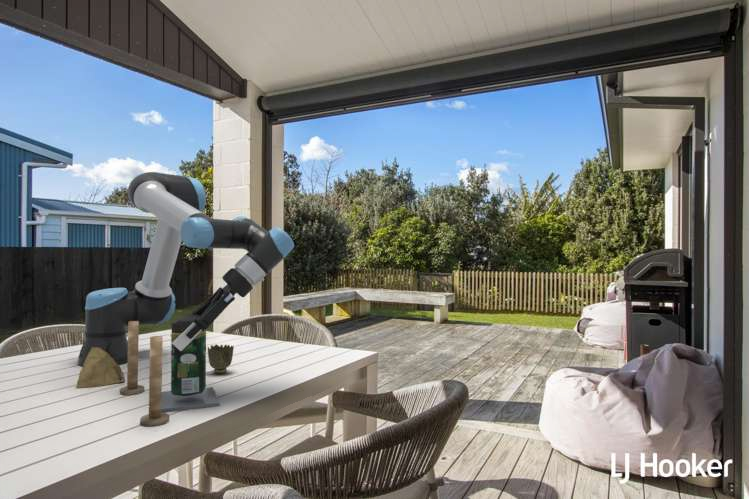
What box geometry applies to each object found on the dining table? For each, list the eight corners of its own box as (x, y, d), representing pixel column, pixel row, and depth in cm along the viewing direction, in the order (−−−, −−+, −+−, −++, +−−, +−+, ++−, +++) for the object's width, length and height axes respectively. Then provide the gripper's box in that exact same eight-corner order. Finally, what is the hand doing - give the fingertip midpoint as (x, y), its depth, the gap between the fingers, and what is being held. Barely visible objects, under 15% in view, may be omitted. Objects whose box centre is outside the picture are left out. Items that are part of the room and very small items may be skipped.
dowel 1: (114, 394, 119) (116, 322, 119) (128, 388, 125) (129, 319, 125) (136, 395, 118) (137, 323, 119) (148, 389, 124) (150, 320, 124)
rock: (134, 370, 134) (100, 364, 135) (128, 350, 129) (93, 344, 130) (113, 402, 126) (77, 396, 126) (105, 382, 121) (67, 376, 121)
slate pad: (159, 412, 106) (159, 409, 106) (158, 395, 119) (158, 392, 119) (219, 405, 112) (219, 402, 112) (212, 389, 125) (212, 386, 125)
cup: (225, 377, 137) (225, 349, 137) (202, 375, 139) (202, 348, 139) (237, 371, 144) (238, 344, 144) (215, 369, 146) (216, 343, 146)
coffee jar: (173, 387, 119) (174, 312, 119) (206, 385, 121) (207, 312, 122) (167, 398, 110) (168, 318, 110) (203, 396, 112) (205, 317, 112)
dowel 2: (134, 425, 98) (136, 338, 99) (149, 416, 104) (151, 334, 104) (160, 427, 98) (161, 339, 98) (174, 417, 104) (175, 335, 104)
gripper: (263, 290, 112) (190, 363, 105) (246, 284, 132) (183, 344, 126) (240, 268, 110) (164, 341, 103) (226, 265, 130) (162, 325, 123)
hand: (175, 343), depth 114 cm, fingers closed on coffee jar, 10 cm apart
